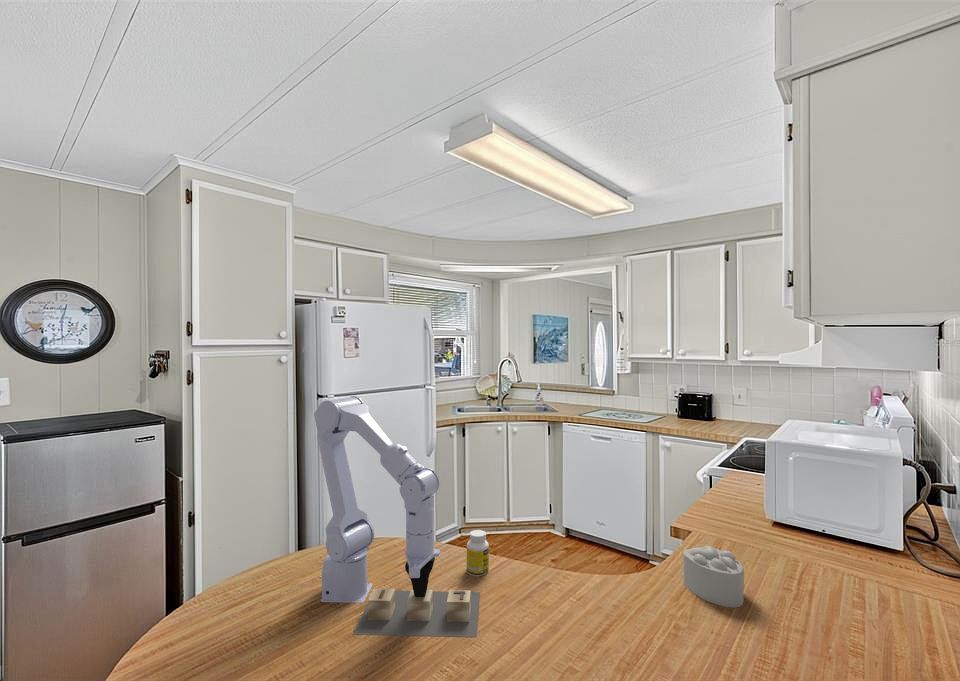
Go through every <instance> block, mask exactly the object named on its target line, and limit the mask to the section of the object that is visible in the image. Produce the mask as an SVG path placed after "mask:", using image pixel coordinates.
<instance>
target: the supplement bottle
mask: <svg viewBox="0 0 960 681" xmlns="http://www.w3.org/2000/svg"><path fill="white" fill-rule="evenodd" d="M489 549H490V546H489V542H488V541H487V532H486V531H484V530H481V529H474V530H471V531H470V532H469V540H468V541H467V543H466V573H467V574H468V575H470V576H474V577H480V576H481V577H482V576H485V575H487V574H489V560H490V558H489V557H490V556H489V554H490V553H489V552H490V550H489Z"/></svg>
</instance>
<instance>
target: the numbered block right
mask: <svg viewBox="0 0 960 681" xmlns="http://www.w3.org/2000/svg"><path fill="white" fill-rule="evenodd" d="M448 592H449V594H448V599H447V622H469V621H470V611H471V592H472V591H471V590H469V589H468V590H467V589H449V590H448Z"/></svg>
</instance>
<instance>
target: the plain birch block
mask: <svg viewBox="0 0 960 681" xmlns="http://www.w3.org/2000/svg"><path fill="white" fill-rule="evenodd" d="M433 590H434V589H427V591H426V595H425V597H415V595H414V591H413V588H412V589H411V590H410V591H411V592H410V595H409V598H408V601H407V615H408V621H430V618H431V614H432V610H433Z"/></svg>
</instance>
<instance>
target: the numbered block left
mask: <svg viewBox="0 0 960 681" xmlns="http://www.w3.org/2000/svg"><path fill="white" fill-rule="evenodd" d="M395 591H396V589H395V588H373V590H372V591H371V594H370V595H369V598H368V600H367V604H368V620H391V617H392V615H393V612H394V609H395Z"/></svg>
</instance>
